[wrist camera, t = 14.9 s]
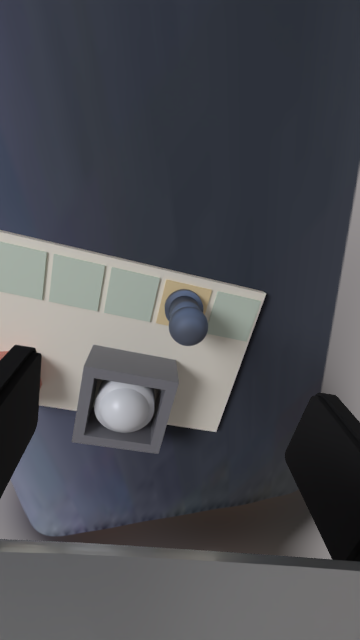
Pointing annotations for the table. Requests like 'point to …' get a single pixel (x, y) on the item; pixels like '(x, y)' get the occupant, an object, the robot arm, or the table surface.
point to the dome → (124, 406)
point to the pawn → (186, 317)
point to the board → (119, 322)
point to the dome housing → (128, 371)
